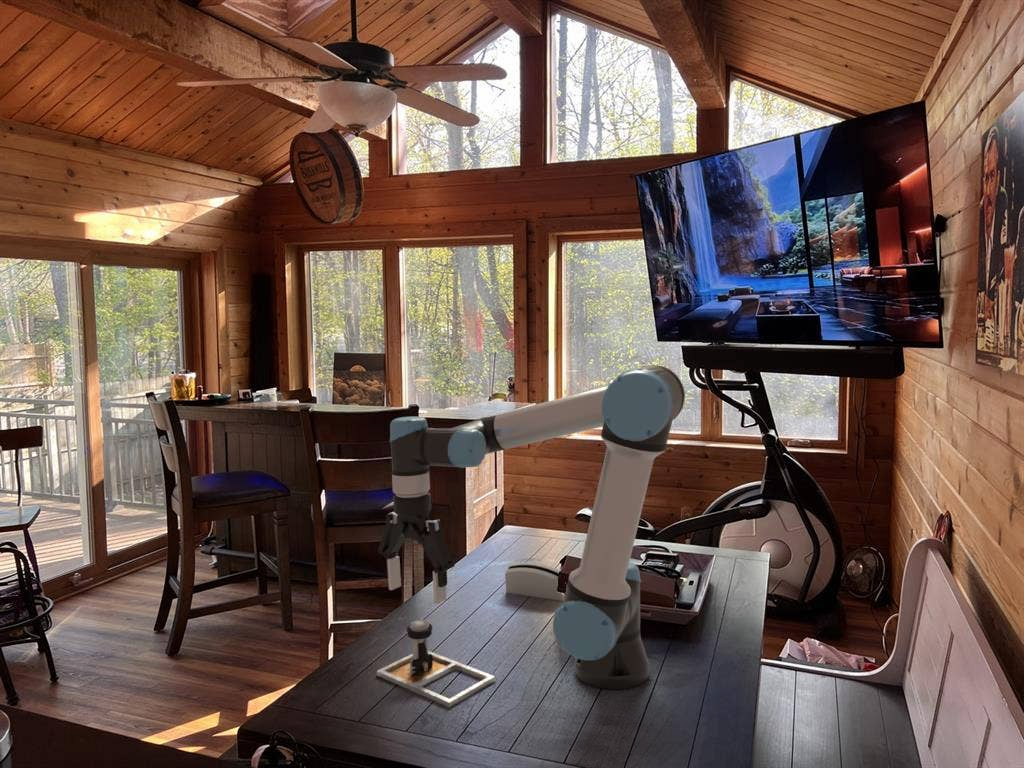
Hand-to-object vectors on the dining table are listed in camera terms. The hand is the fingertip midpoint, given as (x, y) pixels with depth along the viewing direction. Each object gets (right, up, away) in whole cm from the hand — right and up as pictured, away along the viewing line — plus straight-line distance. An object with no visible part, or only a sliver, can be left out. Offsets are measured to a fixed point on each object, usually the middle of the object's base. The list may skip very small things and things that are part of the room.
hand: (417, 594), depth 157 cm
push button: (0, -16, +2) cm, 17 cm away
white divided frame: (+4, -17, -1) cm, 17 cm away
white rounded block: (+26, -12, +43) cm, 51 cm away
